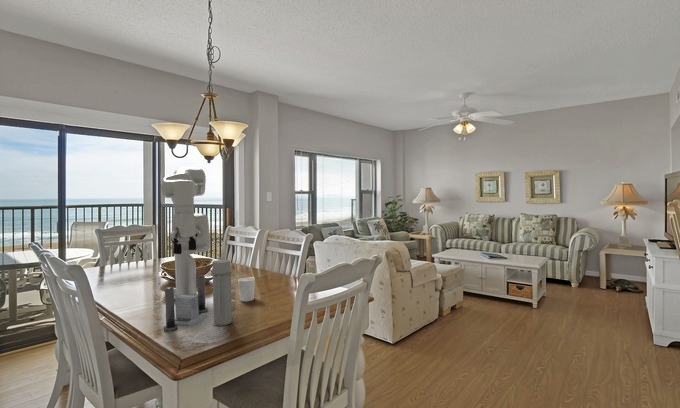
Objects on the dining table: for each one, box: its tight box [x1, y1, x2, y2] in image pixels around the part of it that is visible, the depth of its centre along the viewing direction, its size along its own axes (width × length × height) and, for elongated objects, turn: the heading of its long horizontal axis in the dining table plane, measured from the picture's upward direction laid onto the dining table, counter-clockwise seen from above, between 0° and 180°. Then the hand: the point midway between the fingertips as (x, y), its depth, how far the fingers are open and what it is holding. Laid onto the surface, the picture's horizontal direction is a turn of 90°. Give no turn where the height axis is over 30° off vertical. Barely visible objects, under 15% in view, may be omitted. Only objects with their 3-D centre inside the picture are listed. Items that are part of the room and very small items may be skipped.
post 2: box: [196, 274, 209, 313], centre depth 158 cm, size 5×5×16 cm
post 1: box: [163, 286, 179, 333], centre depth 138 cm, size 5×5×16 cm
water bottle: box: [210, 259, 233, 327], centre depth 142 cm, size 9×8×25 cm
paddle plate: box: [175, 312, 208, 326], centre depth 148 cm, size 11×11×1 cm
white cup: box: [237, 276, 256, 302], centre depth 175 cm, size 8×8×10 cm
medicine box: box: [174, 295, 199, 319], centre depth 148 cm, size 8×4×9 cm, turn 74°
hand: (185, 251), depth 147 cm, fingers open, 9 cm apart
